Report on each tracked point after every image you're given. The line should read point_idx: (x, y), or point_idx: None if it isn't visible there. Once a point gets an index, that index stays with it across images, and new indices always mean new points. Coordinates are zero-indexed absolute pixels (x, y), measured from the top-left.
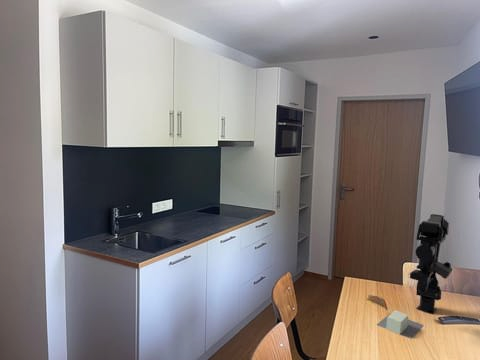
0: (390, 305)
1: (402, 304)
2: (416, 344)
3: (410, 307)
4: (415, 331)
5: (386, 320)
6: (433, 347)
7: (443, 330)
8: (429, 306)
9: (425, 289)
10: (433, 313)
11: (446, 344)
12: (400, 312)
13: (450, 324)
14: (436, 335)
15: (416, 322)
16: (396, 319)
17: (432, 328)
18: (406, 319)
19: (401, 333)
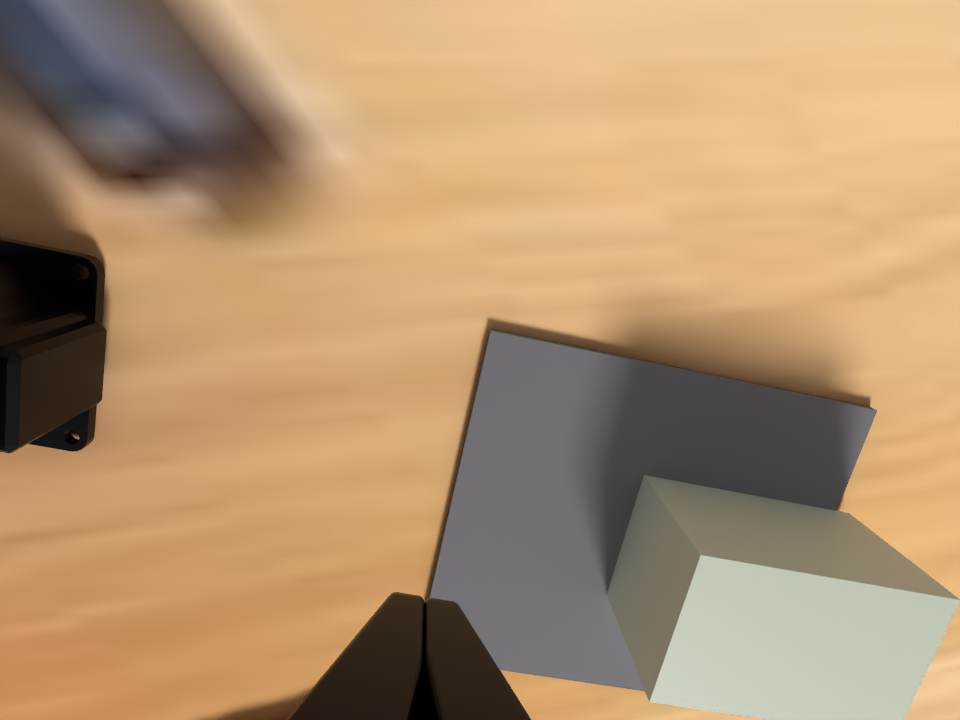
0: (206, 683)
1: (72, 589)
2: (943, 354)
3: (85, 506)
4: (698, 393)
5: (616, 656)
6: (931, 200)
7: (466, 112)
8: (26, 322)
9: (499, 686)
10: (60, 250)
11: (802, 71)
12: (685, 643)
13: (226, 29)
14: (645, 184)
15: (475, 406)
16: (910, 648)
17: (493, 235)
18: (740, 541)
19: (816, 502)
